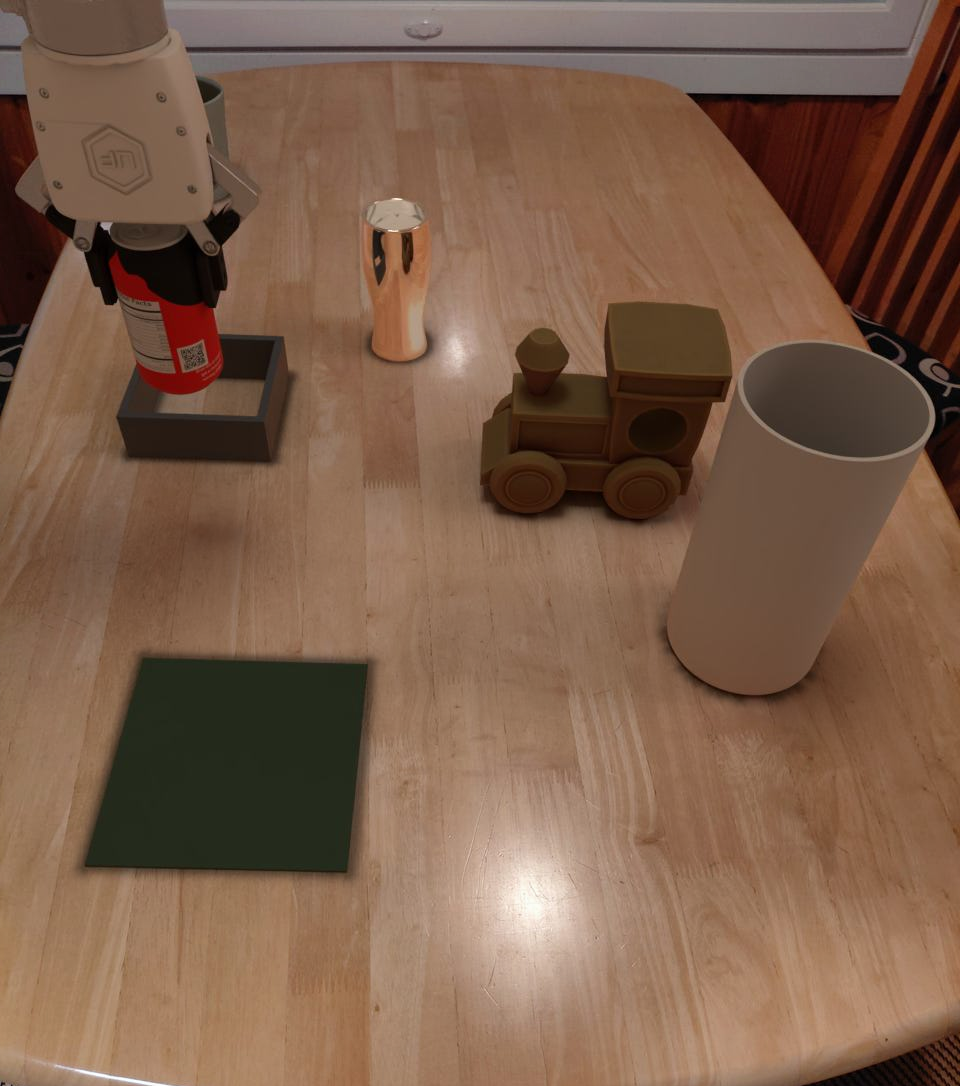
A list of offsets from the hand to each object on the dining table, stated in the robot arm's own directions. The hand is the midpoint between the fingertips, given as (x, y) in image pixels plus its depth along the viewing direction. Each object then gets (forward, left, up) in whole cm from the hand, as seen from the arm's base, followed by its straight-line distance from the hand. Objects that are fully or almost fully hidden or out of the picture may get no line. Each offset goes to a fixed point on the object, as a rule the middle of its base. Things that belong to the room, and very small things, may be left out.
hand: (164, 294), depth 69 cm
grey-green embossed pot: (-14, +62, -24) cm, 68 cm away
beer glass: (+14, +29, -24) cm, 40 cm away
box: (-4, +16, -24) cm, 29 cm away
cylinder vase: (+45, -11, -24) cm, 52 cm away
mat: (+6, -24, -24) cm, 34 cm away
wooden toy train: (+33, +8, -24) cm, 42 cm away
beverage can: (0, 0, -7) cm, 7 cm away
